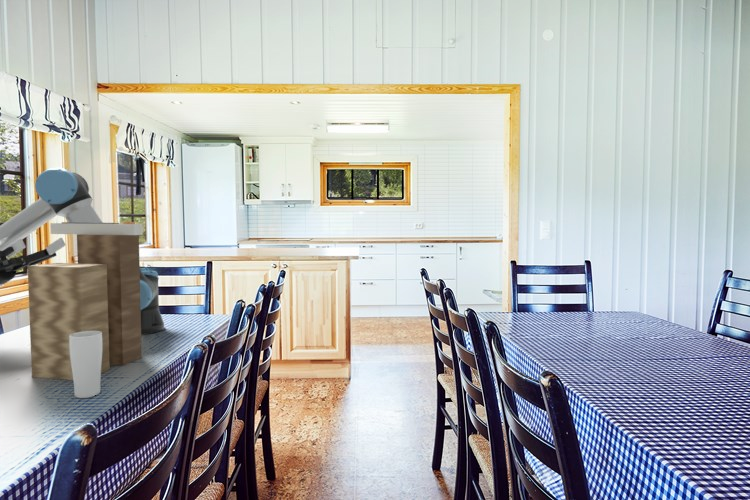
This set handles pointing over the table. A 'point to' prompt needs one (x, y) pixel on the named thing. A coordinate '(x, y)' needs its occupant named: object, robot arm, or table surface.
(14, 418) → the table surface
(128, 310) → the stepped stand
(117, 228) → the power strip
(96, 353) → the drinking glass
